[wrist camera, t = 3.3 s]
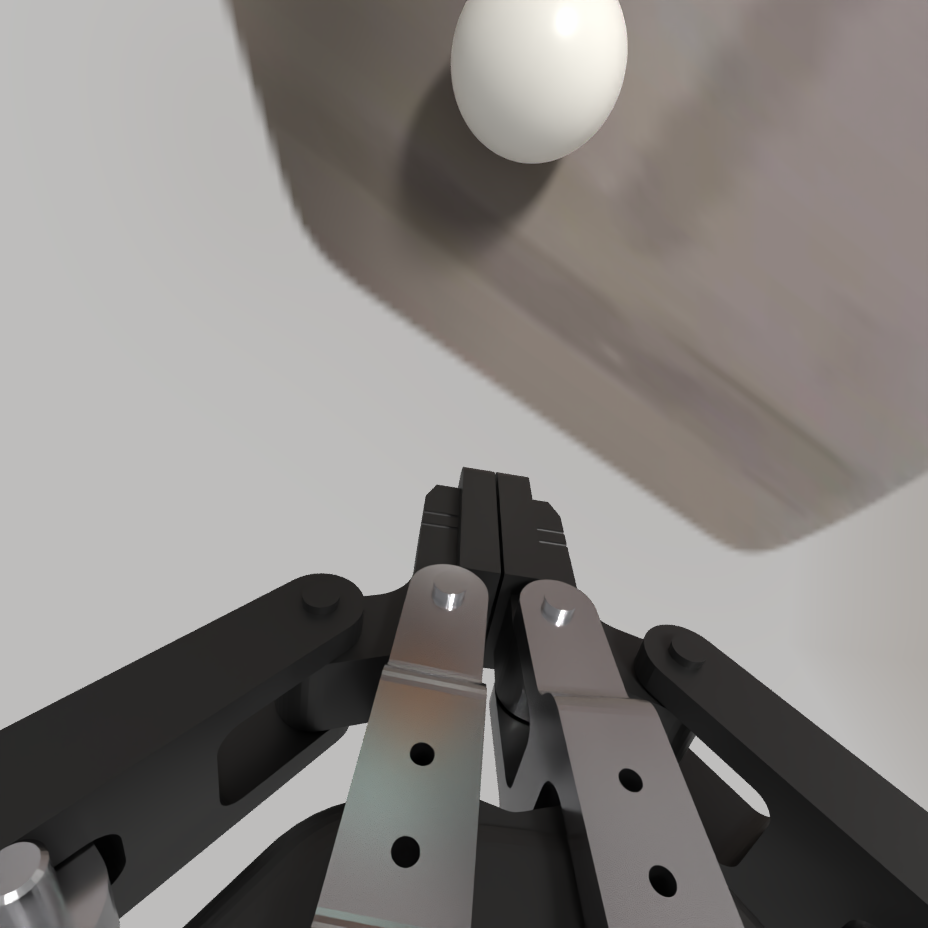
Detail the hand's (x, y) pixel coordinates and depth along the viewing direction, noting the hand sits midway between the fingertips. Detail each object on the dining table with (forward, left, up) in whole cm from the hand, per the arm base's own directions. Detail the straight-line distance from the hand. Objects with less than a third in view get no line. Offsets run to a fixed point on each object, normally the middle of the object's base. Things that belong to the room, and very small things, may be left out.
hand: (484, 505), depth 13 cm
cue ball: (-10, 0, -11) cm, 15 cm away
